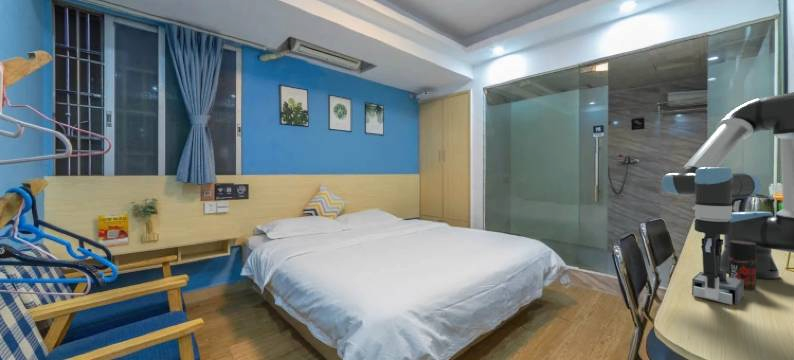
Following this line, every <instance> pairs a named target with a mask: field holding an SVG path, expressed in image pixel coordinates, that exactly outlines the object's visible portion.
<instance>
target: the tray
mask: <svg viewBox="0 0 794 360" xmlns="http://www.w3.org/2000/svg"><path fill="white" fill-rule="evenodd" d="M733 294H734V293H733V291H732V290H731V289H730V294H728V293H723V292H719V299H718V300H715V299H711V298H706V297H705V288H702V287H696V286H694V287H693V294H692V296H694V297H698V298H703V299H706V300H711V301H715V302H719V303H723V304H728V305H731V306H732V305H733Z"/></svg>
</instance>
